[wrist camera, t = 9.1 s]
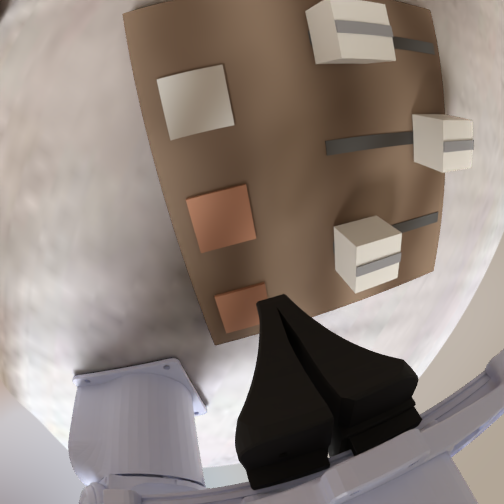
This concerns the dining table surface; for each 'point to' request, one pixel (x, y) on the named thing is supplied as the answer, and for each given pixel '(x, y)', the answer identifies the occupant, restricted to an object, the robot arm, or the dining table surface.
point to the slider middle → (443, 141)
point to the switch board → (282, 149)
